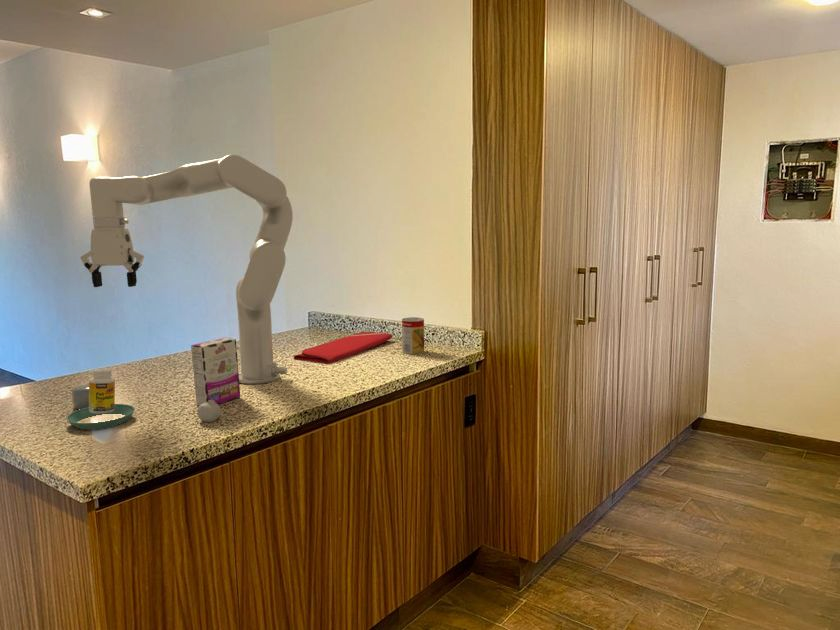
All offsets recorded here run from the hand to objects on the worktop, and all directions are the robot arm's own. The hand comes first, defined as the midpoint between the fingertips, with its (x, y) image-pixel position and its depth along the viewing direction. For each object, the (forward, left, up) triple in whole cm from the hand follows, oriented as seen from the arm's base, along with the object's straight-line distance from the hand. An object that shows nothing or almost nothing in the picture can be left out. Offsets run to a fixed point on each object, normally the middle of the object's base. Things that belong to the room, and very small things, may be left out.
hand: (115, 286), depth 170 cm
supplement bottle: (-9, +25, -28) cm, 38 cm away
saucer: (-9, +25, -31) cm, 41 cm away
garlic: (-35, +23, -30) cm, 51 cm away
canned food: (-78, -53, -30) cm, 99 cm away
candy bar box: (-31, +8, -30) cm, 44 cm away
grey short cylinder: (+2, +13, -30) cm, 33 cm away
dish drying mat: (-53, -56, -31) cm, 83 cm away
